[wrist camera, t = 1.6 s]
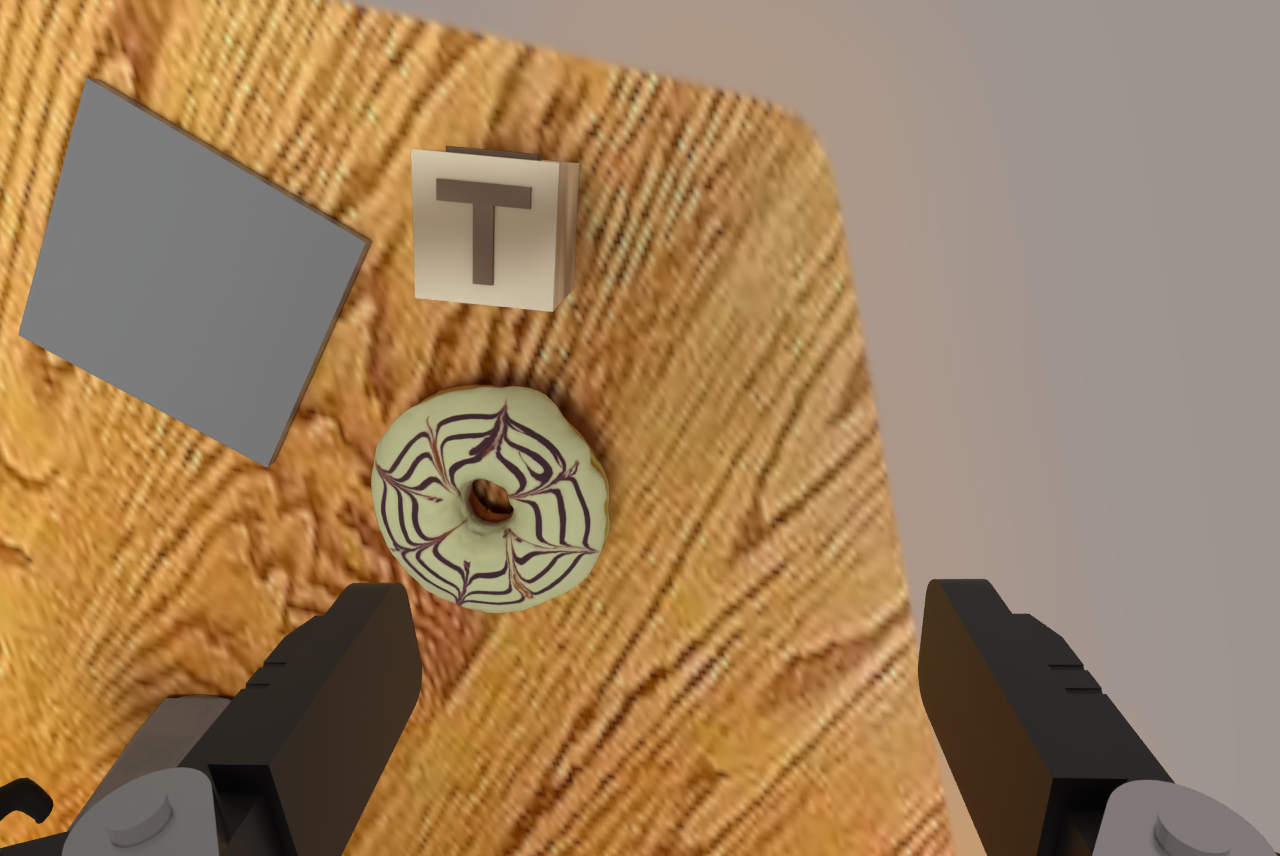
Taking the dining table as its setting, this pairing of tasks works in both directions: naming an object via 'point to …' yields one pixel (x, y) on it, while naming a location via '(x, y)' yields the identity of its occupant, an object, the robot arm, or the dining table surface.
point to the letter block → (494, 227)
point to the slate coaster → (186, 276)
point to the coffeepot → (131, 754)
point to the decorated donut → (461, 526)
